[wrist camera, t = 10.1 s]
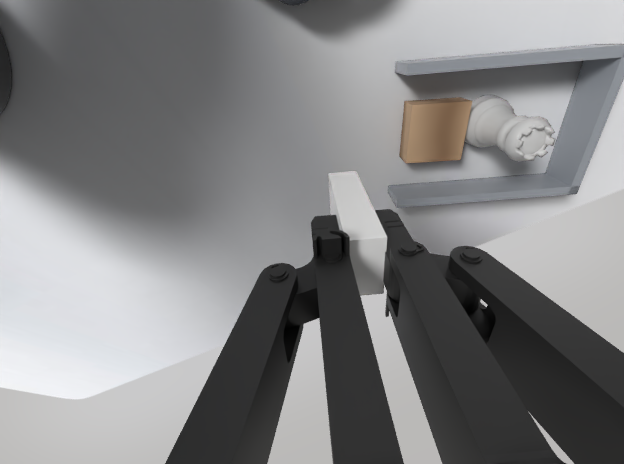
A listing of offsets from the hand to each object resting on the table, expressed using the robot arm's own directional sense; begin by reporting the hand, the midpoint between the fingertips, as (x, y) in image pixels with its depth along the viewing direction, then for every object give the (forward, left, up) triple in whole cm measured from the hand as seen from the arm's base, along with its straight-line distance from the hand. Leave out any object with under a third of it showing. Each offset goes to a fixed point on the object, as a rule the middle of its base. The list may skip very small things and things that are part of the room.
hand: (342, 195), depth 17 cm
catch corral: (+15, 0, -14) cm, 20 cm away
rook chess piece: (+14, 0, -14) cm, 20 cm away
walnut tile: (+10, 0, -14) cm, 17 cm away
